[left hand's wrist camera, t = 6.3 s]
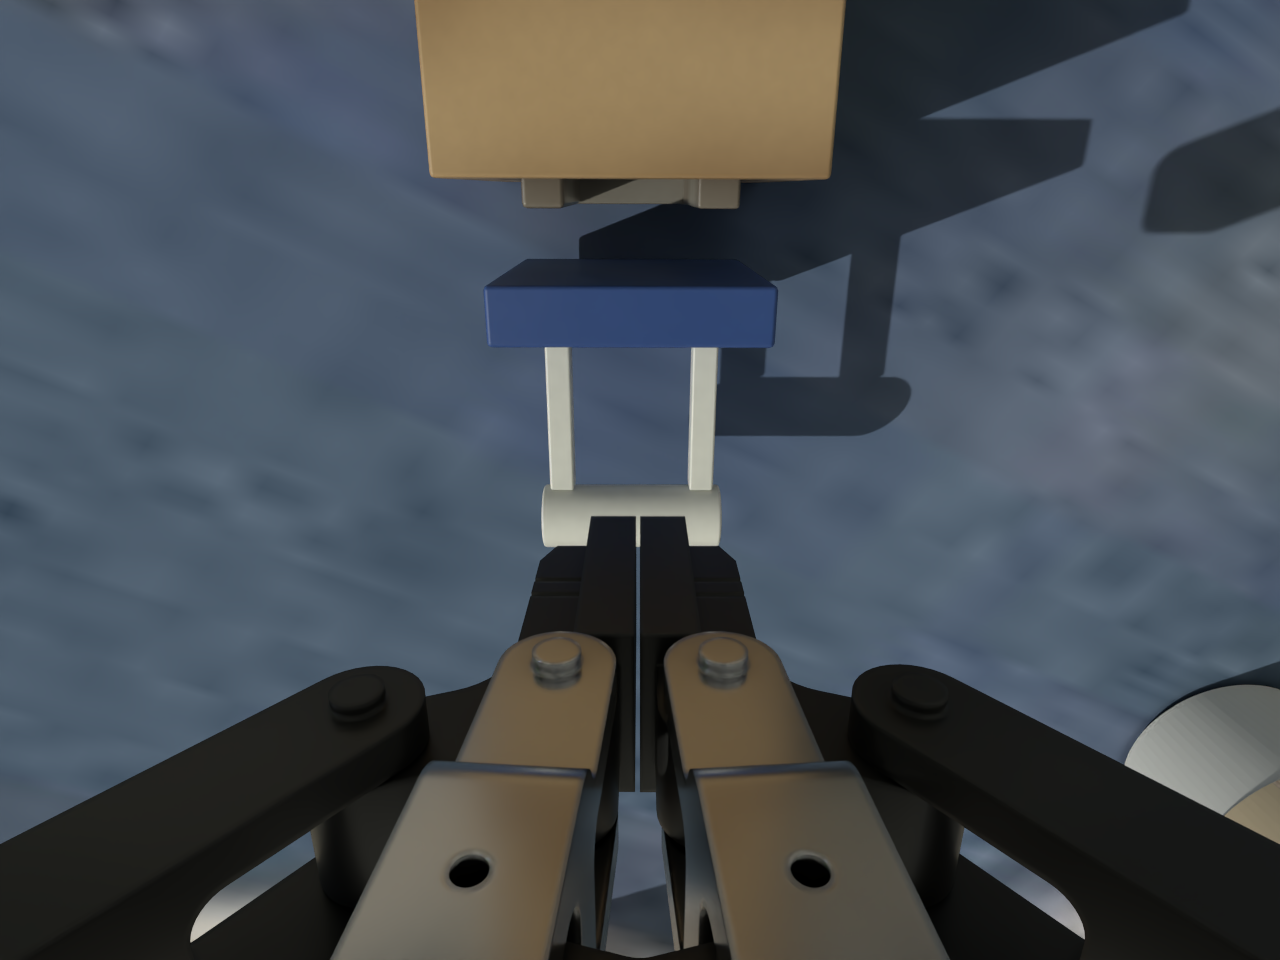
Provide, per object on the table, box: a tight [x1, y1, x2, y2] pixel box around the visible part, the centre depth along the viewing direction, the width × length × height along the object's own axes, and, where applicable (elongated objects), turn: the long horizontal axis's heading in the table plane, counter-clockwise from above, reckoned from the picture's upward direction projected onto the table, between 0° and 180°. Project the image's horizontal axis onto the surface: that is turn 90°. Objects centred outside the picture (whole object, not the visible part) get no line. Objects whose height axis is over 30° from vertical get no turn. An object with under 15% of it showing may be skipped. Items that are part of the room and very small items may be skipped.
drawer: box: [484, 179, 778, 547], centre depth 16 cm, size 23×6×6 cm, turn 0°
